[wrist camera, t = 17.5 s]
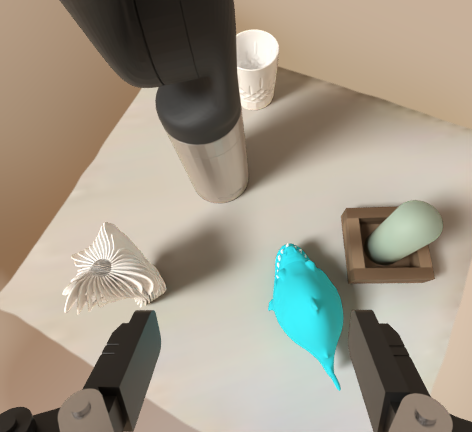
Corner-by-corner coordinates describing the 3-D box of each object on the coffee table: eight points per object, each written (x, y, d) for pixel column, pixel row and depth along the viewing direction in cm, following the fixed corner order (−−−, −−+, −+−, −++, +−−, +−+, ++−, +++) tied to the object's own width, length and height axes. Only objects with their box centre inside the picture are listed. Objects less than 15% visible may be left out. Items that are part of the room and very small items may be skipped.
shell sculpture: (159, 247, 50) (105, 204, 33) (183, 295, 48) (138, 274, 31) (110, 275, 50) (30, 246, 33) (132, 325, 47) (57, 321, 30)
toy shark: (316, 242, 49) (329, 218, 38) (366, 371, 42) (397, 383, 32) (253, 261, 48) (249, 242, 38) (293, 393, 42) (302, 413, 32)
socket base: (422, 282, 45) (434, 278, 42) (348, 283, 46) (354, 279, 43) (409, 214, 49) (420, 206, 45) (340, 216, 50) (346, 208, 46)
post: (403, 264, 46) (447, 243, 35) (366, 266, 46) (398, 245, 35) (397, 230, 48) (437, 199, 36) (361, 232, 48) (390, 201, 37)
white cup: (230, 80, 60) (224, 33, 50) (274, 74, 59) (275, 26, 50) (234, 116, 57) (228, 73, 48) (279, 110, 57) (282, 66, 47)
